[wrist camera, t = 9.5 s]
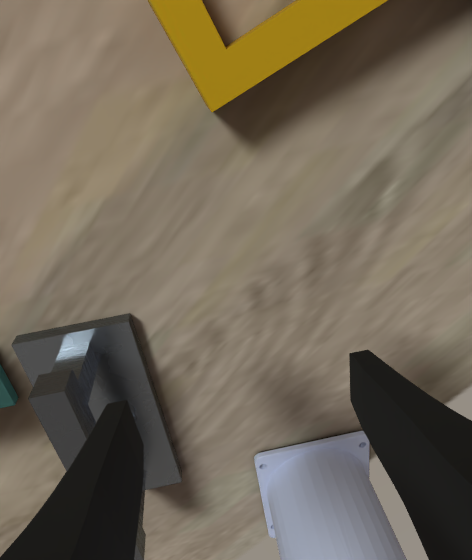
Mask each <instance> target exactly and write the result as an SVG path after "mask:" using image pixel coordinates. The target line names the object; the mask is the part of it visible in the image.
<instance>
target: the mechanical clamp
mask: <svg viewBox="0 0 472 560" xmlns="http://www.w3.org/2000/svg"><path fill="white" fill-rule="evenodd" d="M386 1H388V0H296V1H294V2H293V3H291V4H290V5H288V6H287V7H285V8H284V9H282V10H281V11H279V12H278V13H276V14H275V15H273V16H272V17H270V18H269V19H267V20H266V21H264V22H262V23H261V24H259V25H258V26H256V27H255V28H253V29H252V30H250V31H249V32H247V33H246V34H244V35H243V36H241V37H240V38H238V39H237V40H235V41H234V42H232V43H231V44H229V45H228V46H226V47H225V46H224V44H223V42H222V40H221V38H220V36H219V34H218V32H217V30H216V28H215V26H214V24H213V22H212V20H211V18H210V16H209V14H208V12H207V10H206V8H205V6H204V4H203V2H202V0H148V2H149V4H150V6H151V8H152V9H153V11H154V13H155V15H156V16H157V18H158V20H159V22H160V24H161V25H162V27H163V29H164V31H165V32H166V34H167V36H168V38H169V40H170V41H171V43H172V45H173V47H174V48H175V50H176V52H177V54H178V56H179V57H180V59H181V61H182V63H183V64H184V66H185V68H186V70H187V72H188V73H189V75H190V77H191V79H192V81H193V82H194V84H195V86H196V88H197V89H198V91H199V93H200V95H201V97H202V98H203V100H204V102H205V104H206V105H207V107H208V108H209V109H210V111H211V112H214V111H215V110H217V109H218V108H220V107H221V106H223V105H225V104H226V103H228V102H229V101H231V100H232V99H234V98H236V97H237V96H239V95H240V94H242V93H243V92H245V91H247V90H248V89H250V88H251V87H253V86H254V85H256V84H257V83H259V82H261V81H262V80H264V79H265V78H267V77H268V76H270V75H272V74H273V73H275V72H276V71H278V70H279V69H281V68H283V67H284V66H286V65H287V64H289V63H290V62H292V61H294V60H295V59H297V58H298V57H300V56H301V55H303V54H304V53H306V52H308V51H309V50H311V49H312V48H314V47H315V46H317V45H319V44H320V43H322V42H323V41H325V40H326V39H328V38H330V37H331V36H333V35H334V34H336V33H337V32H339V31H341V30H342V29H344V28H345V27H347V26H348V25H350V24H352V23H353V22H355V21H356V20H358V19H359V18H361V17H362V16H364V15H366V14H367V13H369V12H370V11H372V10H373V9H375V8H377V7H378V6H380V5H381V4H383V3H384V2H386Z"/></svg>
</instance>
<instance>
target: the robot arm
mask: <svg viewBox="0 0 472 560" xmlns="http://www.w3.org/2000/svg"><path fill="white" fill-rule="evenodd" d="M349 355H350V396H351V403H352V405H353V407H354V410H355V412H356V415H357V417H358V420H359V422H360V424H361V427H362V429H363V431H358V432H353V433H348V434H344V435H339V436H335V437H330V438H325V439H321V440H316V441H311V442H307V443H302V444H298V445H293V446H288V447H284V448H279V449H274V450H270V451H265V452H260V453H258V454H256V455H255V457H254V461H255V466H256V471H257V476H258V481H259V487H260V492H261V497H262V502H263V507H264V512H265V517H266V523H267V528H268V533H269V536H270V537H272V538H276V540H277V544H278V549H279V554H280V559H281V560H407V559H406V557H405V555H404V553H403V551H402V548H401V546H400V544H399V542H398V540H397V538H396V536H395V533H394V531H393V529H392V528H391V525H390V523H389V521H388V519H387V516H386V514H385V512H384V510H383V508H382V506H381V504H380V501H379V499H378V497H377V495H376V493H375V491H374V489H373V487H372V484H371V482H370V480H369V442H370V444H371V445H372V447H373V449H374V451H375V452H376V454H377V456H378V458H379V459H380V461H381V463H382V465H383V467H384V468H385V470H386V472H387V474H388V475H389V477H390V478H391V481H392V482H393V484H394V486H395V488H396V490H397V491H398V493H399V495H400V497H401V499H402V501H403V502H404V505H405V507H406V509H407V511H408V513H409V516H410V518H411V520H412V522H413V524H414V526H415V529H416V531H417V533H418V536H419V538H420V540H421V542H422V545H423V547H424V549H425V551H426V554H427V556H428V558H429V560H472V421H471V420H469V419H467V418H465V417H464V416H462V415H460V414H458V413H457V412H455V411H453V410H452V409H450V408H448V407H447V406H445V405H444V404H442V403H441V402H439V401H437V400H436V399H434V398H433V397H431V396H430V395H428V394H427V393H426V392H424V391H423V390H421V389H420V388H418V387H417V386H416V385H414V384H413V383H411V382H410V381H409V380H407V379H406V378H404V377H403V376H402V375H400V374H399V373H398V372H396V371H395V370H394V369H393V368H391V367H390V366H389V365H387V364H386V363H385V362H383V361H382V360H381V359H380V358H378V357H377V356H376V355H374V354H373V353H372V352H370V351H369V350H364V351H359V352H354V353H349ZM143 478H144V444H143V441H142V439H141V436H140V433H139V431H138V428H137V426H136V423H135V420H134V418H133V415H132V412H131V410H130V407H129V404H128V402H127V400H123V401H118V402H113V403H108V404H107V405H106V406H105V408H104V410H103V412H102V413H101V415H100V417H99V419H98V420H97V422H96V424H95V426H94V428H93V429H92V431H91V433H90V434H89V436H88V438H87V440H86V441H85V443H84V445H83V446H82V448H81V450H80V451H79V453H78V455H77V456H76V458H75V459H74V461H73V463H72V464H71V466H70V467H69V469H68V470H67V472H66V473H65V475H64V476H63V478H62V479H61V481H60V482H59V484H58V485H57V487H56V488H55V490H54V491H53V493H52V494H51V495H50V497H49V498H48V500H47V501H46V502H45V504H44V505H43V506H42V508H41V509H40V510H39V512H38V513H37V514H36V516H35V517H34V518H33V519H32V521H31V522H30V523H29V525H28V526H27V527H26V528H25V529H24V531H23V532H22V533H21V534H20V535H19V537H18V538H17V539H16V540H15V541H14V542H13V543H12V545H11V546H10V547H9V548H8V549H7V550H6V551H5V552H4V554H3V555H2V556H1V557H0V560H134V557H135V547H136V538H137V530H138V521H139V513H140V505H141V496H142V487H143Z"/></svg>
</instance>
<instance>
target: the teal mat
mask: <svg viewBox="0 0 472 560" xmlns="http://www.w3.org/2000/svg"><path fill="white" fill-rule="evenodd" d="M18 398H19V397H18V396H17V394H16V392H15V390H14V388H13V386H12V385H11V383H10V381H9V379H8V377H7V375H6V374H5V372H4V370H3V368H2V366H1V364H0V408H3V407H8V406H13V405H15V404H16V402H17V400H18Z"/></svg>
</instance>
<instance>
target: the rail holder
mask: <svg viewBox="0 0 472 560" xmlns="http://www.w3.org/2000/svg"><path fill="white" fill-rule="evenodd" d="M12 347H13V349H14V351H15V353H16V355H17V357H18V359H19V361H20V363H21V364H22V366H23V368H24V370H25V372H26V374H27V376H28V378H29V380H30V382H31V384H32V386H33V389H32V391H31V393H30V396H29V398H28V399H29V401H30V403H31V405H32V407H33V409H34V411H35V413H36V415H37V416H38V418H39V420H40V422H41V424H42V426H43V428H44V430H45V431H46V433H47V435H48V437H49V439H50V441H51V443H52V445H53V447H54V448H55V450H56V452H57V454H58V456H59V458H60V460H61V462H62V463H63V465H64V467H65V469H66V471H67V470H68V469H69V467H70V466H71V464H72V463H73V461H74V459H75V458H76V456H77V455H78V453H79V451H80V450H81V448H82V446H83V445H84V443H85V441H86V440H87V438H88V436H89V434H90V433H91V431H92V429H93V428H94V426H95V424H96V422H97V420H98V419H99V417H100V415H101V413H102V412H103V410H104V408H105V406H106V405H107V404H108V403H113V402H118V401H123V400H127V402H128V404H129V407H130V410H131V412H132V415H133V418H134V420H135V423H136V426H137V428H138V431H139V433H140V436H141V439H142V441H143V444H144V478H143V487H142V496H141V505H140V513H139V521H138V530H137V538H136V547H135V557H134V560H144V552H145V536H146V535H145V532H144V530H143V528H142V525H143V511H144V497H145V490H147V489H152V488H157V487H161V486H166V485H170V484H175V483H180V482H182V471H181V468H180V465H179V462H178V459H177V456H176V452H175V449H174V446H173V443H172V440H171V437H170V434H169V431H168V428H167V425H166V422H165V419H164V416H163V413H162V410H161V407H160V404H159V401H158V398H157V394H156V391H155V388H154V385H153V382H152V379H151V376H150V373H149V370H148V367H147V364H146V361H145V358H144V355H143V352H142V349H141V346H140V343H139V339H138V336H137V333H136V330H135V327H134V324H133V321H132V318H131V315H130V314H124V315H119V316H114V317H109V318H104V319H99V320H94V321H89V322H84V323H79V324H74V325H69V326H64V327H59V328H54V329H49V330H44V331H39V332H34V333H29V334H24V335H19V336H16V338H15V340H14V341H13V343H12Z"/></svg>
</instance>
